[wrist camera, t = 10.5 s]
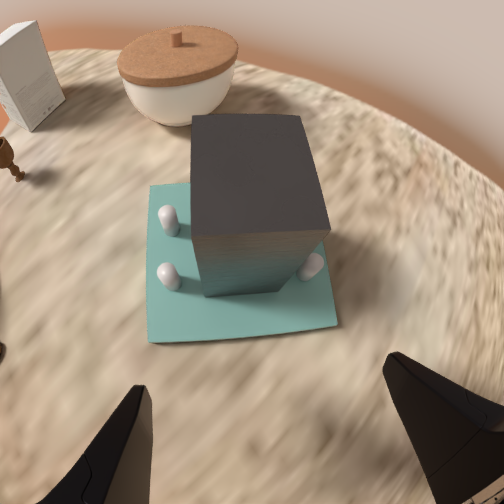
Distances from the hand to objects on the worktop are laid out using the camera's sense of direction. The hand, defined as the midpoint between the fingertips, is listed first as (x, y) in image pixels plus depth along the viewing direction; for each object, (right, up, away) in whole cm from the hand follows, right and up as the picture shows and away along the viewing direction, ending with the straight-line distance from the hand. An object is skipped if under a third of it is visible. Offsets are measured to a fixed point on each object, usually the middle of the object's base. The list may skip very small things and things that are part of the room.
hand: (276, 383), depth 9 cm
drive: (-2, +4, +11) cm, 12 cm away
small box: (-29, +23, +16) cm, 41 cm away
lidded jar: (-8, +19, +17) cm, 27 cm away
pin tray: (-2, +4, +12) cm, 13 cm away
